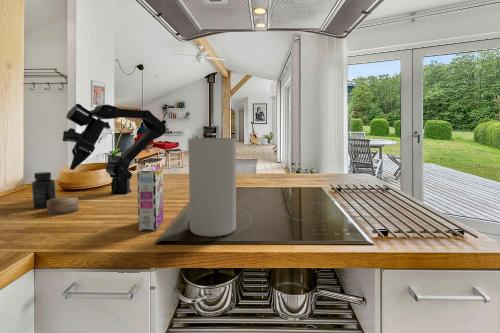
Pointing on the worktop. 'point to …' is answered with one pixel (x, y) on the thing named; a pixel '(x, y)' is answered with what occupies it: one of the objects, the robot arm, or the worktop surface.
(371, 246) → the worktop surface
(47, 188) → the supplement bottle
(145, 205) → the candy bar box
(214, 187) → the cylinder vase
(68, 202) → the walnut plinth
